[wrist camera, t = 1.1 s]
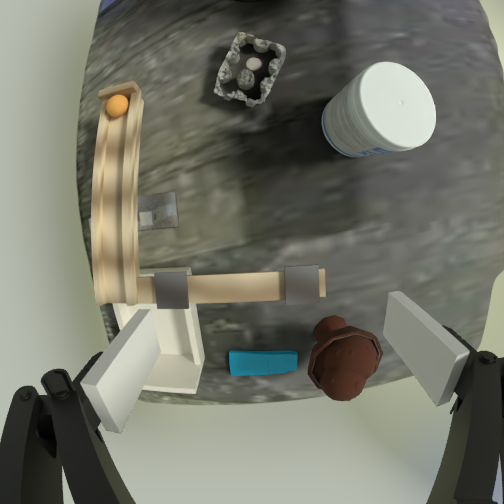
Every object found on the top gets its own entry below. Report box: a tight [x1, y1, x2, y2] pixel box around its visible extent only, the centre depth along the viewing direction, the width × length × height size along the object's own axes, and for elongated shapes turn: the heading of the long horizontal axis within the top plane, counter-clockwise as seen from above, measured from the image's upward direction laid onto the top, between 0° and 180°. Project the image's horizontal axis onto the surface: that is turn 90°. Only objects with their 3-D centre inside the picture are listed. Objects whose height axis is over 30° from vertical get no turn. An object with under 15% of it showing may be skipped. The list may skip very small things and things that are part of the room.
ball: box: [106, 95, 128, 117], centre depth 28 cm, size 3×3×3 cm
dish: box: [112, 267, 205, 394], centre depth 38 cm, size 17×13×9 cm
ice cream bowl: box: [308, 315, 383, 401], centre depth 36 cm, size 11×11×15 cm
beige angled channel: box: [91, 81, 326, 309], centre depth 28 cm, size 28×26×4 cm
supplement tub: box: [322, 62, 436, 157], centre depth 27 cm, size 10×10×15 cm
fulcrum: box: [89, 192, 179, 231], centre depth 34 cm, size 5×11×8 cm, turn 93°
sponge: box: [229, 351, 298, 376], centre depth 45 cm, size 2×12×6 cm
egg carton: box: [214, 31, 286, 108], centre depth 31 cm, size 11×8×4 cm
